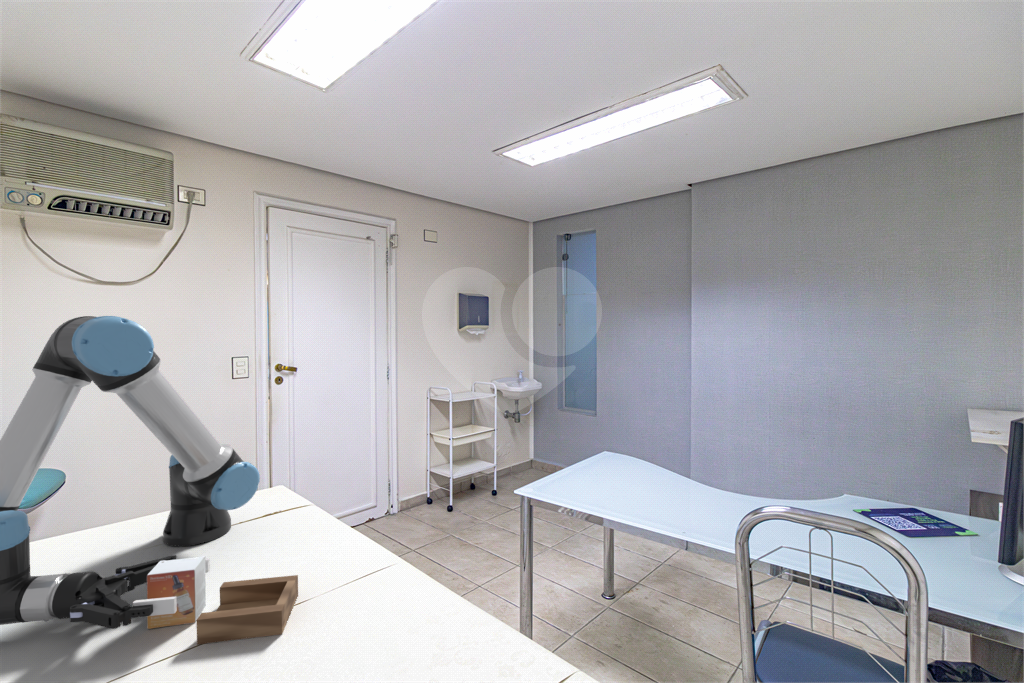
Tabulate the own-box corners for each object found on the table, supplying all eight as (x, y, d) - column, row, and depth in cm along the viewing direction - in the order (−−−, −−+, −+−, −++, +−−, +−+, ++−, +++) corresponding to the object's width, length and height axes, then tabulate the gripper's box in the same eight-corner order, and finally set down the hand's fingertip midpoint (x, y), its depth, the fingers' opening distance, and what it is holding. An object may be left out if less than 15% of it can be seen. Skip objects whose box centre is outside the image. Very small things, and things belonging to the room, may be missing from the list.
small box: (146, 630, 86) (144, 575, 85) (160, 612, 91) (159, 560, 91) (196, 623, 88) (194, 569, 88) (206, 605, 93) (205, 554, 93)
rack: (224, 603, 94) (223, 582, 94) (298, 595, 97) (297, 575, 97) (197, 644, 82) (196, 620, 82) (282, 634, 85) (281, 610, 85)
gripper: (109, 578, 98) (220, 568, 102) (7, 664, 74) (158, 647, 78) (108, 543, 98) (219, 535, 102) (5, 619, 73) (157, 603, 77)
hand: (193, 583), depth 90 cm, fingers open, 13 cm apart
